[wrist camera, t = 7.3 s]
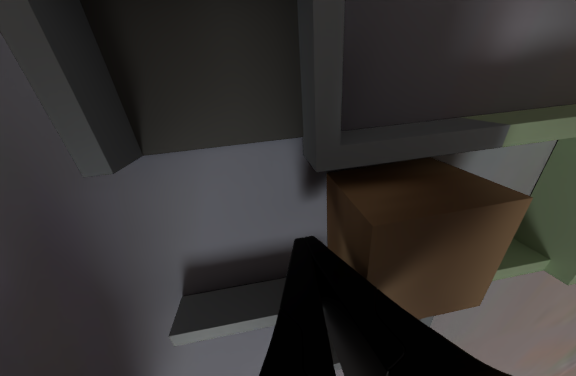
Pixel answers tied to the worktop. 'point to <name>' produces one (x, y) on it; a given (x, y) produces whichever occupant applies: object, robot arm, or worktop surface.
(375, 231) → the walnut block
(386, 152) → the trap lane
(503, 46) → the worktop surface
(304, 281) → the robot arm
